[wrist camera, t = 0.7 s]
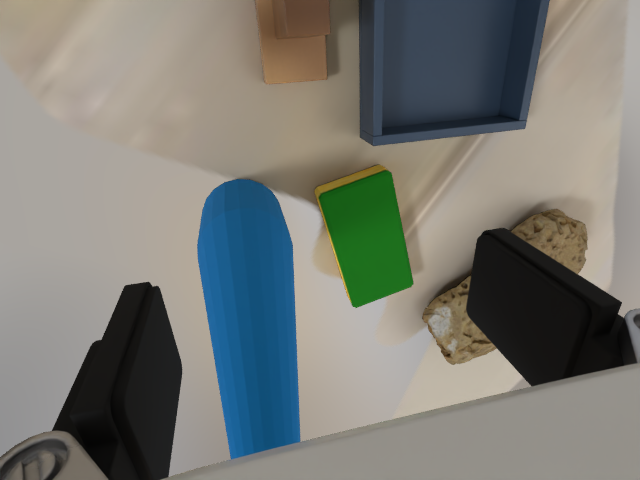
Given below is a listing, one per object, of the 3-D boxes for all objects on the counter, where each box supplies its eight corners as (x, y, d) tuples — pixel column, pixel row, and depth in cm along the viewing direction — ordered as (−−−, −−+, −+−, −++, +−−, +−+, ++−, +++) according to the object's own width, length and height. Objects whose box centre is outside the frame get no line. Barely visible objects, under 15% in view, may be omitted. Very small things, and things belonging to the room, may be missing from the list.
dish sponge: (381, 162, 36) (391, 169, 34) (405, 274, 43) (414, 286, 41) (313, 187, 36) (318, 196, 34) (347, 296, 43) (353, 309, 41)
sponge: (439, 341, 51) (592, 279, 46) (455, 384, 44) (637, 317, 39) (397, 266, 47) (559, 189, 42) (407, 300, 40) (604, 213, 35)
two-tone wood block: (248, -53, 27) (256, -86, 20) (317, -54, 28) (345, -86, 21) (264, 83, 31) (274, 91, 24) (323, 78, 32) (348, 85, 25)
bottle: (235, 162, 33) (259, 607, 7) (296, 209, 37) (473, 632, 10) (186, 222, 35) (51, 777, 8) (249, 262, 38) (296, 752, 12)
